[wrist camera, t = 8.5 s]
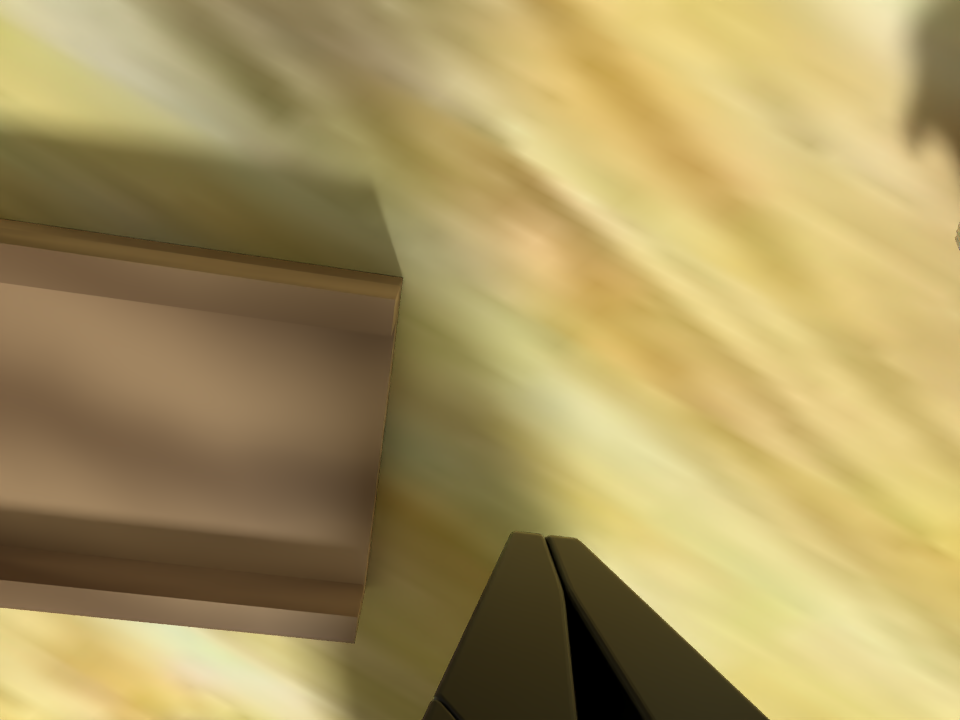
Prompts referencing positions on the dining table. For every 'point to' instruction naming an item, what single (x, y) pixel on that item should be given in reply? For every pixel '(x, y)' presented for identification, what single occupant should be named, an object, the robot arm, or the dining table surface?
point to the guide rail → (189, 432)
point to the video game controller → (958, 237)
